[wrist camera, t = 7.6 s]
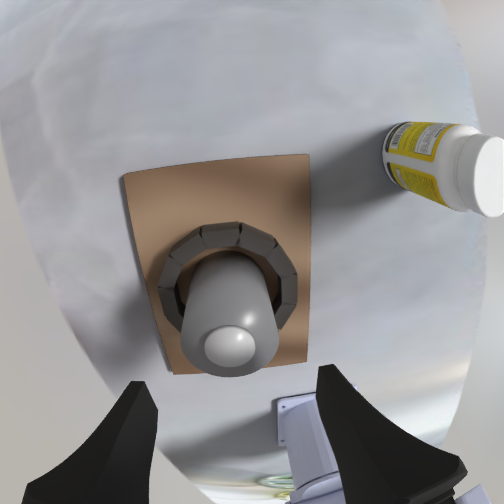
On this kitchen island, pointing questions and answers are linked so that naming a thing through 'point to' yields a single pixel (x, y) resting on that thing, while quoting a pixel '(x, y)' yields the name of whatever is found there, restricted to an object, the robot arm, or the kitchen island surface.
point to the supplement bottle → (448, 165)
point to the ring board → (226, 238)
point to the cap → (228, 316)
